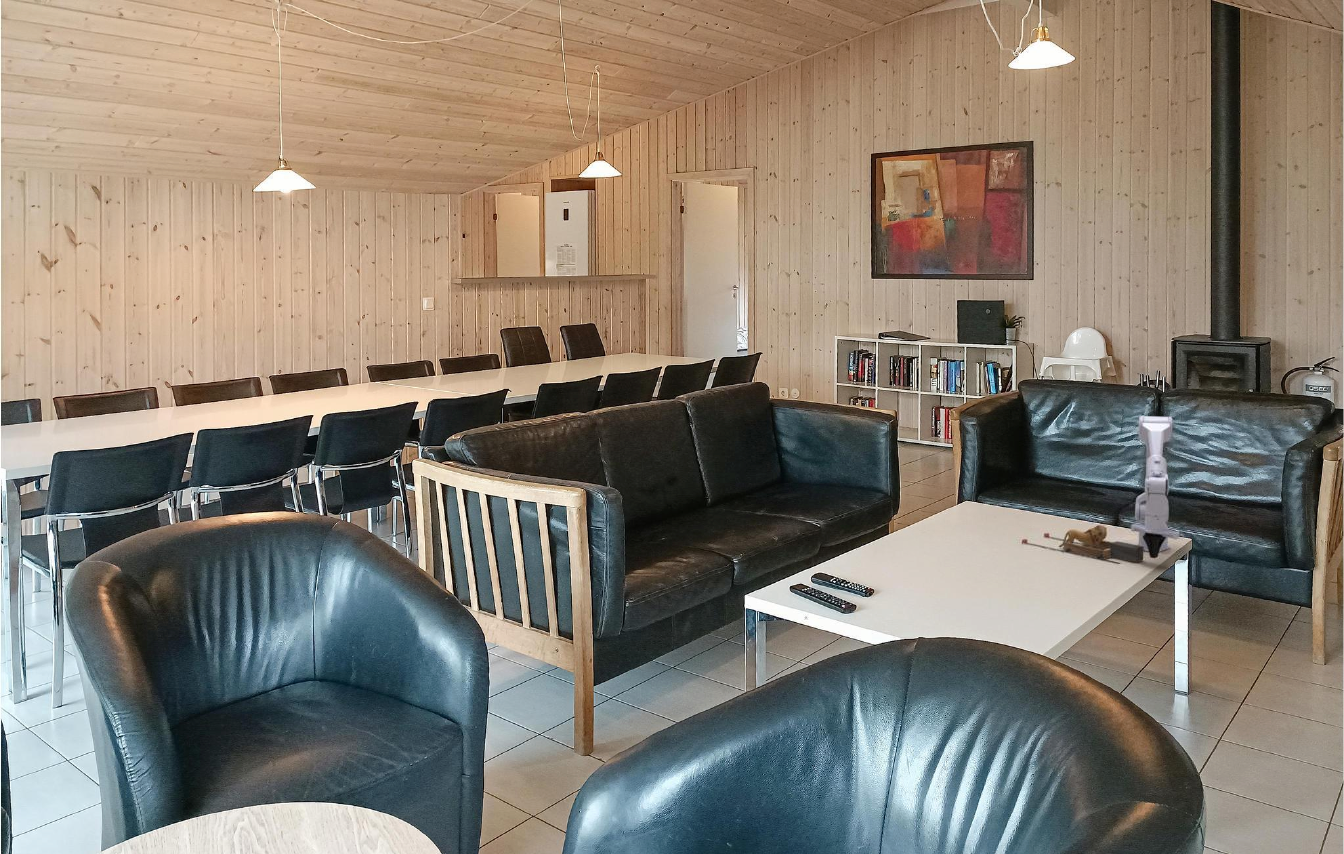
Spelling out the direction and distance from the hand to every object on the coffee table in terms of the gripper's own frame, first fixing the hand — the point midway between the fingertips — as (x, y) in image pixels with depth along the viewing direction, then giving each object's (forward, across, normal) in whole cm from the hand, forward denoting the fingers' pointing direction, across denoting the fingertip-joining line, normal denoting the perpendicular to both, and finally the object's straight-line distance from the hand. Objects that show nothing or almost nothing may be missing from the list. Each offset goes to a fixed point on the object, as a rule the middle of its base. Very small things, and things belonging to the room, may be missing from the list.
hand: (1153, 557), depth 329 cm
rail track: (+2, -25, 0) cm, 25 cm away
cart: (+2, -16, 0) cm, 16 cm away
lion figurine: (+3, -24, 0) cm, 24 cm away
